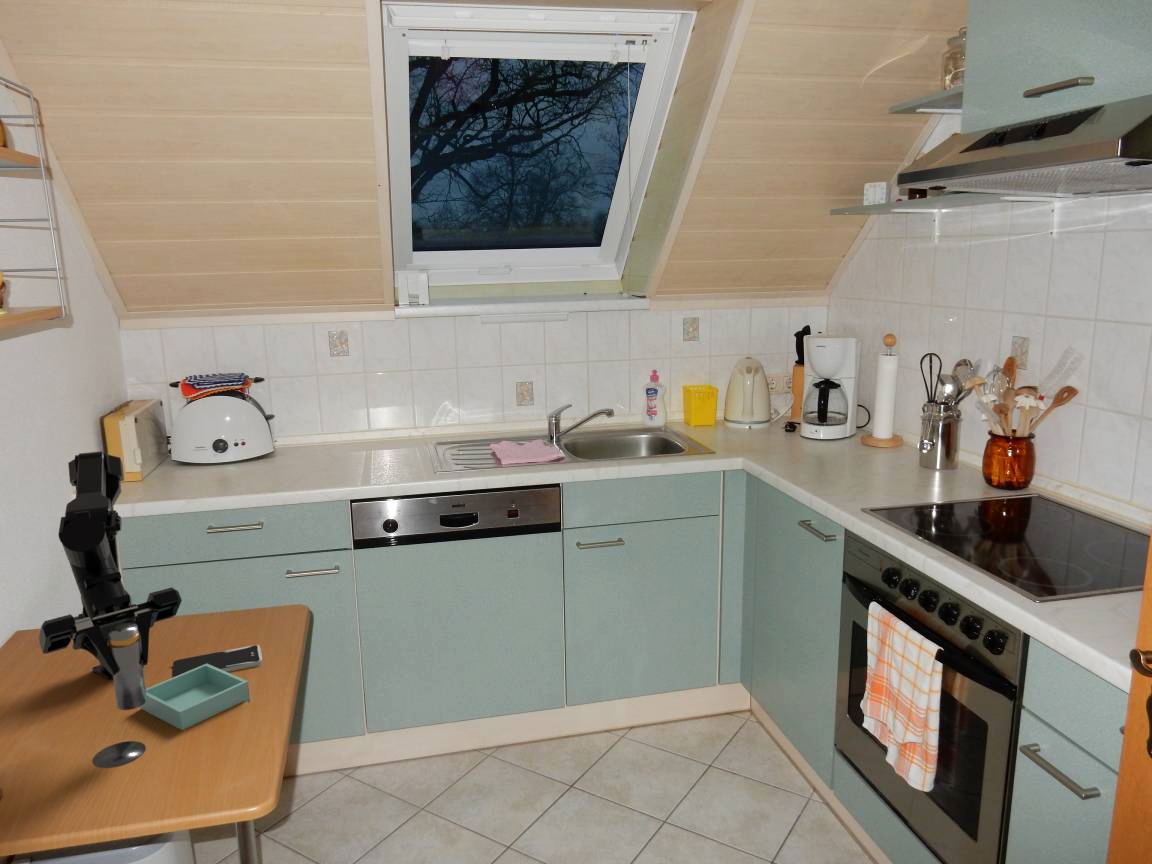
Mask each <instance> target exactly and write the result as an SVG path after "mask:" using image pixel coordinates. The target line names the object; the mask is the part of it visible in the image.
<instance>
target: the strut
mask: <svg viewBox="0 0 1152 864" xmlns="http://www.w3.org/2000/svg"><path fill="white" fill-rule="evenodd" d="M107 636H108V637H107V642H108V646H109V651H110V654H111V657H112V659H113V661H114V665H115V669H116V675H113V678H112V679H113V687H114V693H115V695H114V696H115V701H116V708H117V709H118V710H120V711H121V710H122V711H129V710H135V709H137V708H139V707H140V708H141V706H142V705H143V704H145V703H146V701H147V697H146V690H145V689H146V683H145V674H144V668H143V667H144V666H142V658H141V650H140V642H139V639H140V636H139V631H138V626H137V624H135V623H123V624H118V625H115V626H113V627H111V628H109V629H108V630H107Z"/></svg>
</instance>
